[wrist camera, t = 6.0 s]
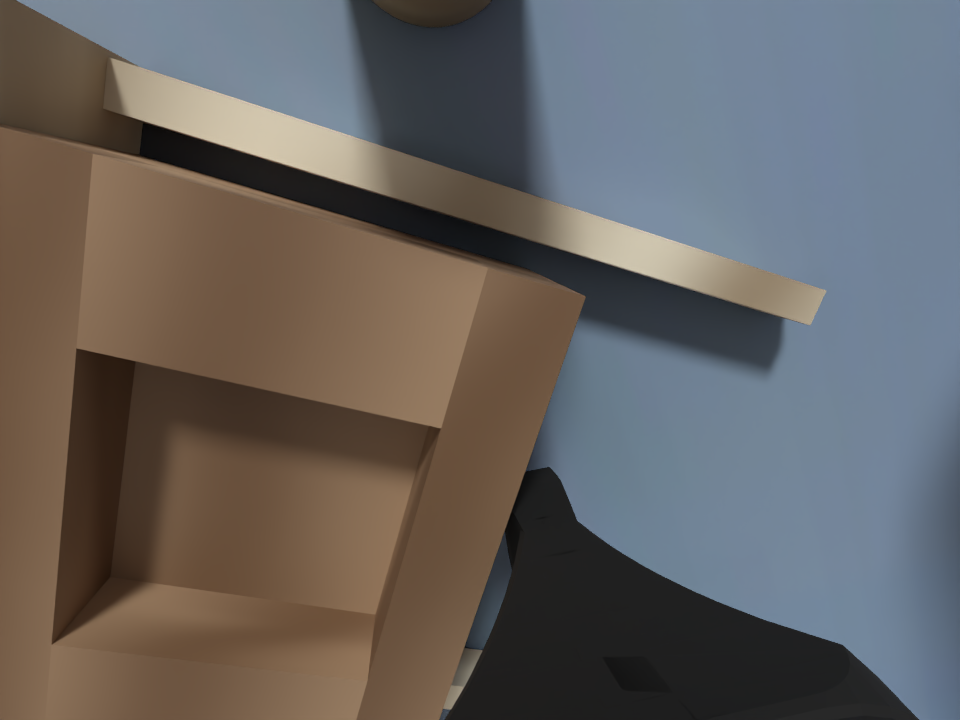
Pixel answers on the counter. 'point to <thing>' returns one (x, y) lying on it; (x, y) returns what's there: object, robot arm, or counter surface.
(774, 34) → the counter surface
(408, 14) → the oak dowel
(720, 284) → the birch rail and backstop
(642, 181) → the counter surface
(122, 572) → the walnut block
